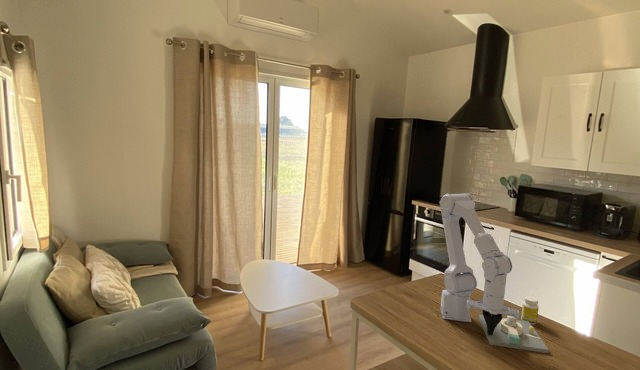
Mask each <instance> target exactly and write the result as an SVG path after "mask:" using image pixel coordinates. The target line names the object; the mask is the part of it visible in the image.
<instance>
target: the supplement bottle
mask: <svg viewBox="0 0 640 370" xmlns="http://www.w3.org/2000/svg"><path fill="white" fill-rule="evenodd" d="M538 304H539V299H538V298H536V297H534V296H530V295H529V296H528V295H527V296H524V301H523V302H522V305H521V306H522V307H521V314H520V320H523V321H529V323H530V324H531V325H536V324H537V323H538V316H539V315H538V313H539V307H540V306H539V305H538Z"/></svg>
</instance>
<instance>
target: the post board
mask: <svg viewBox="0 0 640 370" xmlns="http://www.w3.org/2000/svg"><path fill="white" fill-rule="evenodd" d="M477 319H478V320H479V323H480V326H481V327H482V330H483V332H484V334H485V336H486V339H487V341H488V343H489V345H490V346H498V347H502V348H503V347H504V348H510V349H516V350H523V351H530V352H535V353H544V354H549V350H550V349H549V348H548V346H547V345H546V343H545V342H544V341H543V339H542V338H541V336H540V335H539V334H538V332H537V331H536V330H535V327H534V326H533V324H530V323H529V321H523V320H521V319H517V318H515V317H512V316H507V315H506V317H502V319H507V322H506V325H507V326H509V327H514V328H516V323H517V322H518V323H520V324H521V325H522V328H523V329H522V334H521V335H518V336H519V338H520V340H519V345H516V344H511V343H509V338H508V333H505V332H504V331H502V330H501V329H500V322H499V324H498V325H497V326H496V328H495V330H494V332H493V335H488V334H487V325H486V322H485V319H484V316H483V314H478V317H477Z"/></svg>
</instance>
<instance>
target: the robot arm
mask: <svg viewBox="0 0 640 370" xmlns="http://www.w3.org/2000/svg"><path fill="white" fill-rule="evenodd" d="M439 207H440V211H441V212H440V213H441V220H442V225H443V230H444V237H445V244H446V250H447V255H448V259H449V266H448V267H447V268H446V269H445V270H444V272H443V273H444V281H443V283H444V287H445V289H442V290H441V299H440V312H441V316H442V319H444V320H451V321H457V322H458V321H459V322H464V323H465V322H466V323H472V319H471V316H470V309H475V310H479V311H482V315H483V316H484V319H485V322H486V325H487V334H488V335H493V332H494V330H495V328H496V326H497V325H498V324H499V322H500V321H501V320H502V318H503V315H504V316H506V317H507V316H512V317H515V318H517V320H520V316H521V314H520V310H519V309H516V308H512V307H508V306H505V305H504V303H505V294H506V284H507V275H508V274H510V273H511V272H512V270H513V263H512V260H511V257H509V256H508V255H507V254H504V252H502V251H501V250H500V248H499V246H498V245H497V243H496V241H495V238H494V236H492V234H490V233H487V232H486V231H485V229H484V226H483V224H482V223H481V220H480V218H479V215H478V214H477V211H476V209H475V208H476V202H475V200H474V197H473V196H472V195H471V194H470V193H468V192H466V193H465V192H464V193H446V194H444V195H442V197H441V199H440V200H439ZM461 218H462V219H463V220H464V222H465V223H466V225H467V227H468V228H469V229H470V231H471V233H472V234H473V236H474V239H473V243H474V245H475V248H476V249H477V251H478V254H479V255H480V257H481V259H482V260H483V261H482V262H481V268H482V270H483V278H484V284H483V285H484V288H483V297H482V300H471V294H473V292H474V290H476V289H477V287H478V281H477V278H476V276H475V274H474V270H473V268H471V267H470V266H469V265H467V262H466V256H465V250H464V244H463V237H462V234H461V227H460V222H459V221H460V219H461Z"/></svg>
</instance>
